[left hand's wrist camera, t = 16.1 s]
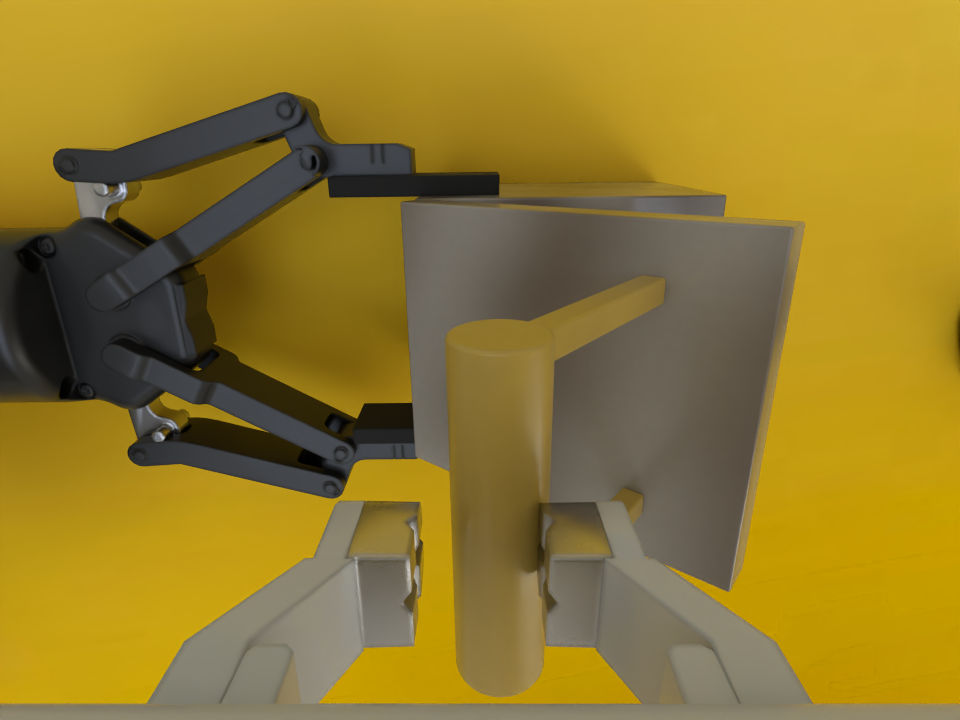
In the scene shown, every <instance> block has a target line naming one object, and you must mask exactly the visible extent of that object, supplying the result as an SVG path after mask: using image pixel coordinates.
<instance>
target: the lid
mask: <svg viewBox="0 0 960 720" xmlns="http://www.w3.org/2000/svg"><path fill="white" fill-rule="evenodd" d="M401 217H402V234H403V251H404V268H405V285H406V302H407V319H408V336H409V353H410V370H411V387H412V404H413V421H414V438H415V455H416V457H418V458H420V459H423V460H425V461H427V462H429V463H432V464H434V465H436V466H439V467H441V468H443V469H446V470H448V471H450V495H451V524H452V552H453V580H454V609H455V637H456V662H457V667H458V670H459V672H460V674H461V676H462V677H463V679H464V680H465V681H466V683H467V684H468V685H469V686H471V687H472V688H473V689H475V690H476V691H478V692H480V693H482V694H485V695H488V696H493V697H508V696H513V695H517V694H519V693H521V692H524V691H525V690H527V689H528V688H529V687H531V686H532V685H533V684H534V683H535V682H536V680H537V679H538V677H539V676H540V674H541V672H542V669H543V664H544V640H545V635H544V628H543V621H542V598H541V597H540V596H539V591H538V581H537V550H538V545H539V543H540V534H539V527H538V525H539V503H560V502H594V501H622V502H623V503H624V505H625V507H626V510H627V512H628V514H629V517H630V519H631V522H632V524H633V527H634V529H635V531H636V534H637V536H638V539H639V541H640V543H641V546H642V548H643V551H644V553H645V555H646V556H647V557H649V558H655V559H656V560H658V561H659V562H661V563H663V564H665V565H667V566H670V567H672V568H674V569H677V570H679V571H681V572H684V573H686V574H688V575H690V576H693V577H695V578H697V579H700V580H702V581H704V582H707V583H709V584H711V585H714V586H716V587H718V588H721V589H723V590H725V591H728V592H729V591H730V590H731V588H732V586H733V584H734V583H735V581H736V579H737V577H738V575H739V573H740V571H741V569H742V566H743V561H744V555H745V550H746V544H747V539H748V533H749V528H750V522H751V517H752V512H753V506H754V501H755V495H756V490H757V484H758V479H759V473H760V468H761V462H762V457H763V452H764V446H765V441H766V435H767V430H768V424H769V419H770V413H771V408H772V402H773V397H774V392H775V386H776V381H777V375H778V370H779V364H780V359H781V353H782V348H783V342H784V337H785V331H786V326H787V321H788V315H789V310H790V304H791V299H792V293H793V288H794V282H795V277H796V271H797V266H798V261H799V255H800V250H801V244H802V239H803V233H804V228H805V223H804V222H802V221H786V220H769V219H752V218H735V217H718V216H701V215H684V214H667V213H650V212H633V211H616V210H599V209H582V208H565V207H547V206H530V205H513V204H496V203H479V202H462V201H445V200H428V199H423V200H414V201H404V202H401Z"/></svg>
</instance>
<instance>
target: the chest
mask: <svg viewBox="0 0 960 720" xmlns="http://www.w3.org/2000/svg"><path fill="white" fill-rule="evenodd" d="M423 199H428V200H445V201H462V202H479V203H496V204H513V205H530V206H547V207H565V208H582V209H599V210H616V211H633V212H650V213H667V214H684V215H701V216H718V217H724V210H725V202H726V195H723V194H718V193H712V192H707V191H702V190H697V189H691V188H686V187H681V186H676V185H671V184H665V183H659V182H591V183H511V184H499V195H460V196H419V197H418V198H417V199H416V200H423Z"/></svg>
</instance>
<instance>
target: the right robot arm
mask: <svg viewBox="0 0 960 720" xmlns="http://www.w3.org/2000/svg"><path fill="white" fill-rule="evenodd" d="M319 116H320V115H319V109H318V107H317V106H316V104H315V103H314V102H313V101H312V100H310V99H307V98H305V97H301V96H298V95H294V94H290V93H287V92H282V93H277V94H274V95H272V96H269V97H266V98H263V99H260V100H257V101H254V102H251V103H248V104H246V105H243V106H240V107H237V108H234V109H231V110H228V111H225V112H222V113H220V114H217V115H214V116H211V117H208V118H205V119H202V120H199V121H196V122H194V123H191V124H188V125H185V126H182V127H179V128H176V129H173V130H171V131H168V132H165V133H162V134H159V135H156V136H153V137H150V138H147V139H145V140H142V141H139V142H136V143H133V144H130V145H127V146H124V147H121V148H119V149H107V148H66V149H60V150H59V151H57V152H56V153H55V155H54V158H53V165H54V167H55V170H56V172H57V173H58V174H59V175H60V177H62V178H63V179H65V180H67V181H71V182H74V185H75V190H76V195H77V201H78V206H79V212H80V217H81V219H78V220H76V221H75V222H73V223H72V224H71V225H69V226H67V227H65V228H0V403H2V402H72V401H83V400H95V399H96V400H103V401H107V402H110V403H112V404H114V405H117V406H119V407H121V408H125V409H128V410H129V413H130V417H131V420H132V423H133V426H134V429H135V432H136V435H137V439H138V440H137V441H136V442H135V443H133V444H132V445H131V446H130V447H129V449H128V457H129V458H130V460H131V461H132V462H133V463H134V464H137V465H139V466H156V465H170V464H183V465H188V466H192V467H196V468H201V469H205V470H209V471H214V472H218V473H222V474H226V475H231V476H235V477H239V478H244V479H248V480H252V481H257V482H261V483H265V484H270V485H274V486H278V487H282V488H287V489H291V490H295V491H300V492H304V493H308V494H313V495H317V496H321V497H326V498H337V497H339V496H340V495H341V494H342V492H343V490H344V488H345V486H346V483H347V481H348V478H349V476H350V473H351V471H352V468H353V465H354V464H355V463H356V462H357V461H360V460H365V459H417V458H418V457H416V455H415V438H414V421H413V404H412V403H364V405H363V408H362V410H361V412H360V414H359V416H358V418H357V419H356V418H354V417H352V416H350V415H348V414H345V413H343V412H341V411H339V410H337V409H335V408H333V407H331V406H329V405H327V404H325V403H323V402H321V401H319V400H317V399H315V398H312V397H310V396H308V395H306V394H304V393H302V392H300V391H298V390H296V389H294V388H292V387H290V386H288V385H286V384H284V383H282V382H279V381H277V380H275V379H273V378H271V377H269V376H267V375H265V374H263V373H261V372H259V371H257V370H255V369H253V368H251V367H249V366H246V365H244V364H242V363H241V362H240V361H239V360H238V357H237V356H236V355H235V354H233V353H231V352H229V351H227V350H225V349H223V348H221V347H219V346H217V345H215V344H213V343H214V342H216V341H217V339H216V334H215V329H214V324H213V322H212V320H211V318H210V316H209V313H208V311H207V309H206V305H207V294H208V290H207V285H206V279H205V275H199V273H198V271H197V270H196V268H195V267H194V266H195V265H197V264H198V263H200V262H201V261H203V260H204V259H206V258H207V257H209V256H211V255H212V254H214V253H215V252H217V251H218V250H219V249H220V248H221V247H222V246H224V245H225V244H227V243H228V242H230V241H231V240H233V239H234V238H236V237H237V236H239V235H241V234H242V233H244V232H245V231H247V230H248V229H250V228H251V227H253V226H254V225H256V224H257V223H259V222H260V221H262V220H263V219H265V218H266V217H268V216H269V215H271V214H273V213H274V212H276V211H277V210H279V209H280V208H282V207H283V206H285V205H286V204H288V203H289V202H291V201H292V200H294V199H295V198H297V197H298V196H300V195H301V194H303V193H304V192H306V191H308V190H309V189H311V188H312V187H314V186H315V185H317V184H318V183H320V182H321V181H323V180H324V179H326V178H327V177H328V187H329V197H410V196H460V195H499V174H498V172H455V173H416V166H415V149H414V148H411V147H409V146H406V145H404V144H398V143H396V144H339V143H336V142H335V141H333V140H332V139H331V138H330V137H329V136H328V135H327V133H326V132H325V130H324V127H323V125H322V123H321V120H320V118H319ZM282 138H286V140H287V142H288V144H289V146H290V149H291V151H292V152H291V153H290V154H288V155H287V156H285V157H284V158H282V159H281V160H279V161H278V162H276V163H275V164H274V165H272V166H271V167H269V168H268V169H266V170H265V171H263V172H262V173H260V174H259V175H257V176H256V177H254V178H253V179H251V180H250V181H248V182H247V183H245V184H244V185H242V186H241V187H240V188H238V189H237V190H235V191H234V192H232V193H231V194H229V195H228V196H226V197H225V198H223V199H222V200H220V201H219V202H217V203H216V204H214V205H213V206H211V207H210V208H208V209H207V210H205V211H204V212H203V213H201V214H200V215H198V216H197V217H195V218H194V219H192V220H191V221H189V222H188V223H186V224H185V225H183V226H182V227H180V228H179V229H177V230H176V231H174V232H172V233H170V234H168V235H166V236H164V237H162V238H161V239H159V240H156V239H154V238H153V237H151V236H150V235H148V234H146V233H145V232H143V231H142V230H140V229H138V228H137V227H135V226H134V225H132V224H130V223H129V222H127V221H126V220H124V219H122V218H120V217H118V210H119V207H120V206H121V205H122V204H123V203H125V202H128V201H132V200H134V199H136V198H137V196H138V195H139V192H140V190H141V189H142V185H141V182H140V181H147V180H156V179H162V178H166V177H169V176H173V175H176V174H179V173H182V172H185V171H188V170H190V169H193V168H196V167H199V166H202V165H205V164H208V163H211V162H214V161H217V160H220V159H223V158H226V157H229V156H232V155H235V154H238V153H241V152H244V151H247V150H250V149H253V148H256V147H259V146H262V145H265V144H268V143H270V142H273V141H276V140H279V139H282ZM196 367H199V368H201V369H202V370H200V371H195V370H194V369H195V368H196ZM165 392H168V393H170V394H172V395H175V396H177V397H179V398H181V399H183V400H185V401H188V402H190V403H193V404H198V405H199V404H209V405H212V406H214V407H216V408H218V409H220V410H223V411H225V412H227V413H229V414H231V415H233V416H235V417H238V418H240V419H242V420H244V421H246V422H248V423H250V424H253V425H255V426H257V427H259V428H261V429H263V430H265V431H268V432H270V433H268V432H264V431H260V430H256V429H252V428H247V427H243V426H239V425H235V424H231V423H227V422H222V421H218V420H213V419H208V418H189V413H188V412H187V411H186V410H184V409H180V410H179V411H178V410H173V409H169V408H167V407H165V406H164V405H163V404H162V403H161V401H160V399H159V397H160V396H161V395H162V394H164V393H165Z"/></svg>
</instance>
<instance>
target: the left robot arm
mask: <svg viewBox="0 0 960 720" xmlns="http://www.w3.org/2000/svg"><path fill="white" fill-rule="evenodd" d="M421 526H422V513H421V504H420V502H391V501H367V502H365V501H339V502H338V503H337V504H336V505H335V506H334V509H333V511H332V514H331V516H330V519H329V521H328V523H327V526H326V528H325V531H324V533H323V536H322V538H321V540H320V543H319V545H318V548H317V550H316V553H315V555H314V557H313V558H305V559H303V560H302V561H301V562H299V563H298V564H296V565H295V566H293V567H292V568H290V569H289V570H287V571H286V572H285V573H283V574H282V575H280V576H279V577H277V578H276V579H274V580H273V581H271V582H270V583H269V584H267V585H266V586H264V587H263V588H261V589H260V590H258V591H257V592H255V593H254V594H253V595H251V596H250V597H248V598H247V599H245V600H244V601H242V602H241V603H240V604H238V605H237V606H235V607H234V608H232V609H231V610H229V611H228V612H226V613H225V614H224V615H222V616H221V617H219V618H218V619H216V620H215V621H213V622H212V623H210V624H209V625H208V626H206V627H205V628H203V629H202V630H200V631H199V632H197V633H196V634H194V635H193V636H192V637H190V638H189V639H187V640H186V641H184V643H183V645H182V646H181V648H180V650H179V651H178V653H177V655H176V656H175V658H174V660H173V661H172V663H171V664H170V666H169V668H168V669H167V671H166V673H165V674H164V676H163V678H162V679H161V681H160V683H159V684H158V686H157V688H156V689H155V691H154V693H153V694H152V696H151V697H150V699H149V701H148V702H147V704H0V720H960V704H813V703H812V701H811V699H810V698H809V696H808V694H807V693H806V691H805V689H804V688H803V686H802V684H801V683H800V681H799V679H798V678H797V676H796V674H795V673H794V671H793V669H792V668H791V666H790V664H789V663H788V661H787V659H786V658H785V656H784V654H783V653H782V651H781V649H780V648H779V646H778V644H777V643H776V642H775V641H774V640H772V639H771V638H769V637H768V636H766V635H765V634H764V633H762V632H761V631H759V630H758V629H756V628H755V627H753V626H752V625H751V624H749V623H748V622H746V621H745V620H743V619H742V618H740V617H739V616H737V615H736V614H735V613H733V612H732V611H730V610H729V609H727V608H726V607H724V606H723V605H722V604H720V603H719V602H717V601H716V600H714V599H713V598H711V597H710V596H709V595H707V594H706V593H704V592H703V591H701V590H700V589H698V588H697V587H696V586H694V585H693V584H691V583H690V582H688V581H687V580H685V579H684V578H683V577H681V576H680V575H678V574H677V573H675V572H674V571H672V570H671V569H669V568H668V567H667V566H665V565H664V564H662V563H661V562H659V561H658V560H656V559H655V558H646V555H645V553H644V551H643V548H642V546H641V543H640V541H639V539H638V536H637V534H636V531H635V529H634V527H633V524H632V522H631V519H630V517H629V514H628V512H627V510H626V507H625V505H624V503H623V502H622V501H594V502H560V503H539V525H538V527H539V534H540V543H539V545H538V550H537V581H538V591H539V596H540V597H541V598H542V621H543V628H544V635H545V642H546V646H559V647H594V648H596V650H597V651H598V653H599V654H600V655H601V656H602V657H603V658H604V660H605V661H606V662H607V663H608V664H609V665H610V667H611V668H612V669H613V670H614V671H615V672H616V674H617V675H618V676H619V677H620V678H621V679H622V681H623V682H624V683H625V684H626V685H627V686H628V688H629V689H630V690H631V691H632V692H633V693H634V695H635V696H636V697H637V698H638V699H639V700H640V702H641V703H642V704H318V703H319V702H320V701H321V699H322V698H323V697H324V696H325V695H326V694H327V692H328V691H329V690H330V689H331V688H332V687H333V685H334V684H335V683H336V682H337V681H338V680H339V678H340V677H341V676H342V675H343V674H344V673H345V671H346V670H347V669H348V668H349V667H350V666H351V665H352V663H353V662H354V661H355V660H356V659H357V658H358V656H359V655H360V654H361V653H362V652H363V648H366V647H400V646H414V642H415V635H416V627H417V620H418V598H419V597H420V596H421V590H422V579H423V542H422V541H421V540H420V533H421Z"/></svg>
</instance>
